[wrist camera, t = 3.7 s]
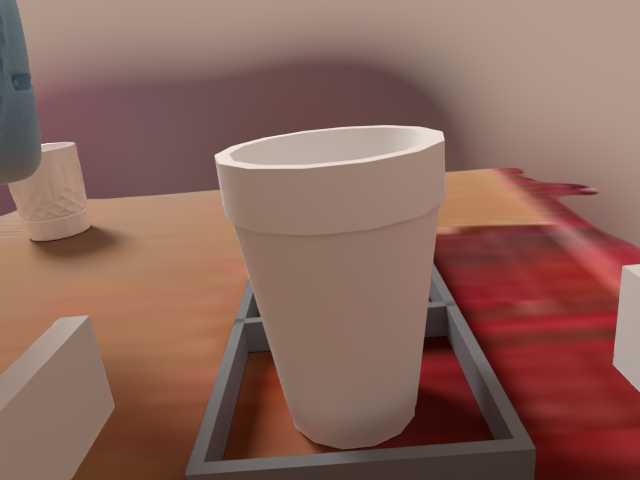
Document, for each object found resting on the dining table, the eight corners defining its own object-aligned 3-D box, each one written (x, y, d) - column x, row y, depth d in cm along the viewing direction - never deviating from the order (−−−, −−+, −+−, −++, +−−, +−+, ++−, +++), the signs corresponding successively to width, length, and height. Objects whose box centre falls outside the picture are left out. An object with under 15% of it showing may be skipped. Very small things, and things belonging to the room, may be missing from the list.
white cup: (47, 247, 55) (20, 156, 52) (10, 239, 59) (-17, 154, 56) (109, 224, 61) (89, 141, 58) (72, 219, 65) (51, 141, 62)
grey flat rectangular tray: (533, 490, 19) (536, 448, 19) (194, 515, 20) (184, 475, 19) (399, 217, 53) (398, 199, 52) (273, 228, 53) (271, 210, 52)
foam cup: (286, 349, 31) (256, 133, 26) (443, 352, 29) (439, 120, 24) (232, 469, 22) (174, 176, 18) (452, 485, 20) (449, 160, 16)
